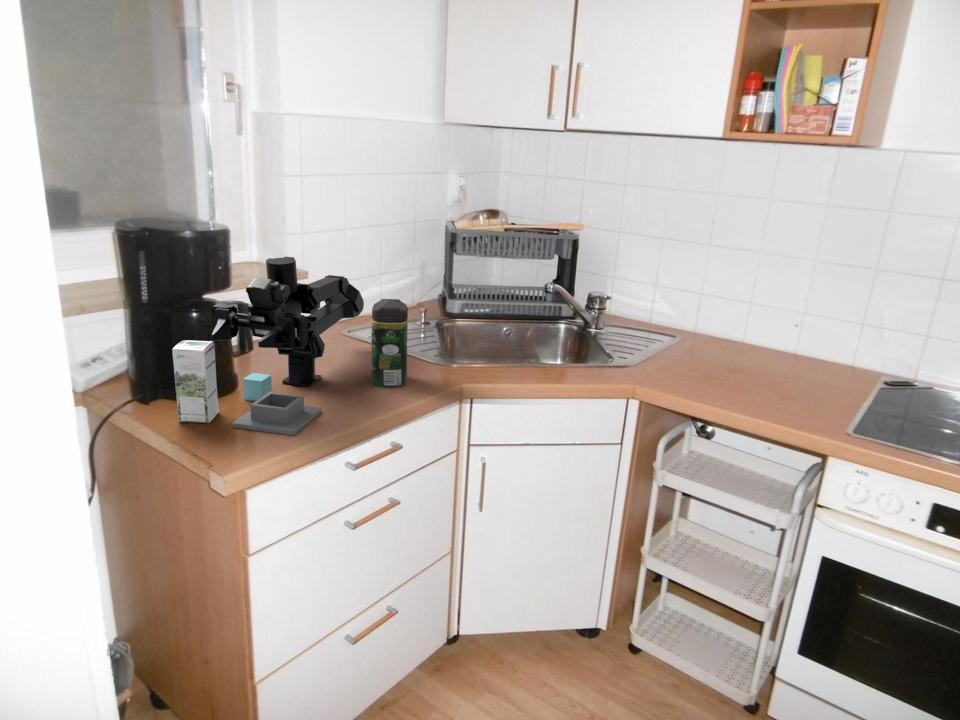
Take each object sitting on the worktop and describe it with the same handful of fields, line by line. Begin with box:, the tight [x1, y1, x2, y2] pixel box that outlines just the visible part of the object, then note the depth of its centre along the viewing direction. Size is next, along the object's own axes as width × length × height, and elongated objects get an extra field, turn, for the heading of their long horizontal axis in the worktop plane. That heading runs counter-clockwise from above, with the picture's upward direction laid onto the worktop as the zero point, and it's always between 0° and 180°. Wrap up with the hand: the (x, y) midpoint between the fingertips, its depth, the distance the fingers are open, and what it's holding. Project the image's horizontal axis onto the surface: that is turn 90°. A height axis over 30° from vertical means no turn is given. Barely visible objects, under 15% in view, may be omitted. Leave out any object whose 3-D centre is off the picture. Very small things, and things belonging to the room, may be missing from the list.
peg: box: [242, 372, 273, 402], centre depth 138 cm, size 4×4×4 cm
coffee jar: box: [370, 298, 409, 389], centre depth 149 cm, size 10×8×19 cm
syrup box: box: [172, 339, 220, 424], centre depth 125 cm, size 6×6×14 cm
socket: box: [231, 391, 322, 437], centre depth 128 cm, size 12×12×4 cm
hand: (235, 341), depth 120 cm, fingers open, 9 cm apart
